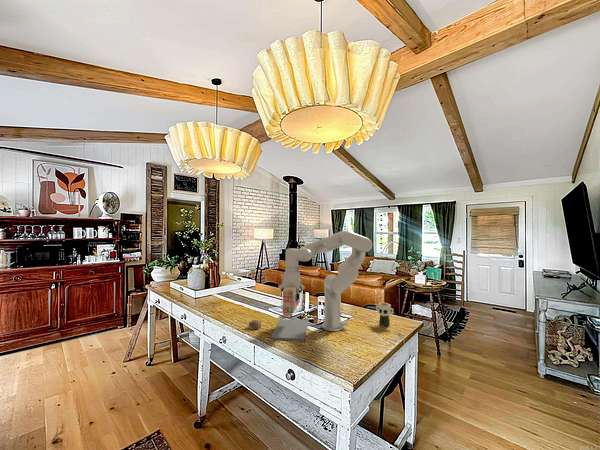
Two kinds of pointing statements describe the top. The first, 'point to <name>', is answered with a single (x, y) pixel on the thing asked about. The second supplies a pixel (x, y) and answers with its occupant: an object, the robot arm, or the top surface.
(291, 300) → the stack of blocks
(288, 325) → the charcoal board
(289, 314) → the terracotta brick
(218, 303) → the top surface
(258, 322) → the walnut brick
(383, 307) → the beige and green figurine
